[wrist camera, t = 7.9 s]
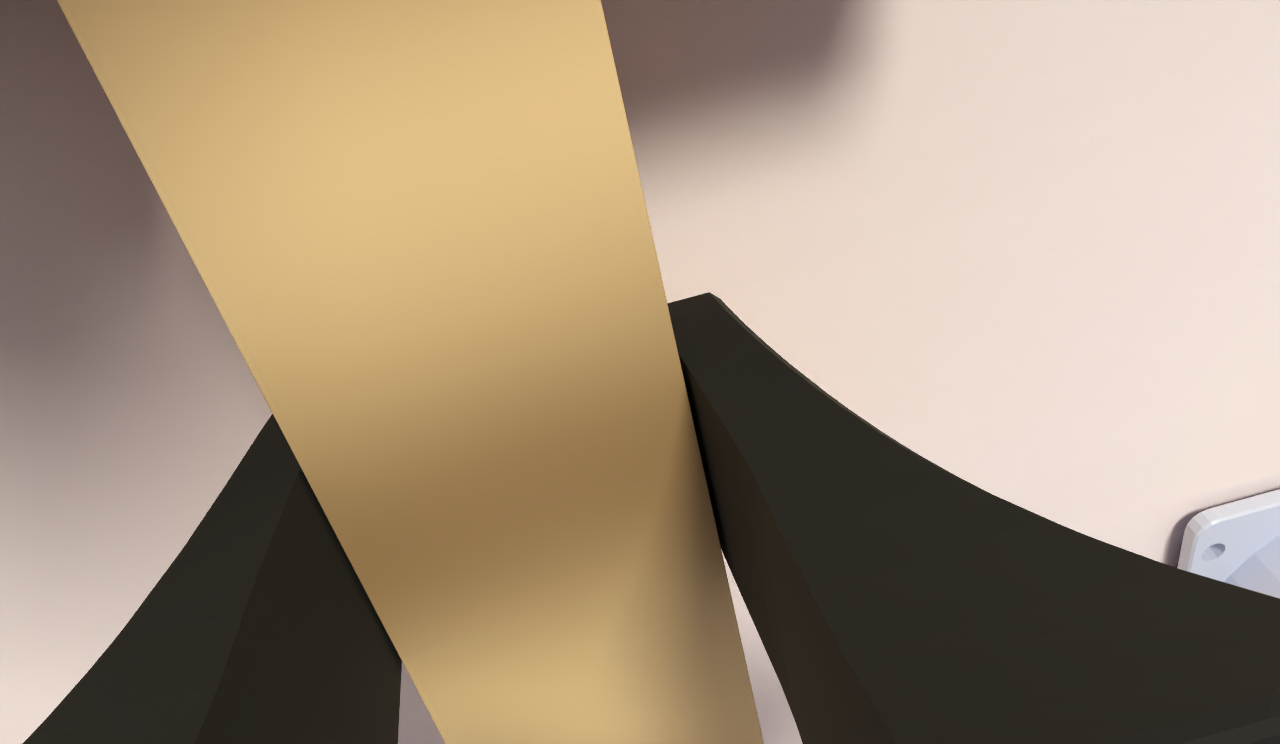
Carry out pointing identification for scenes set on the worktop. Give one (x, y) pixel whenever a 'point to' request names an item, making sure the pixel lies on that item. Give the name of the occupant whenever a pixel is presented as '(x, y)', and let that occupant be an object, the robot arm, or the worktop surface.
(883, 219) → the worktop surface
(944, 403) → the worktop surface
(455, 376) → the rail
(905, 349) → the worktop surface
